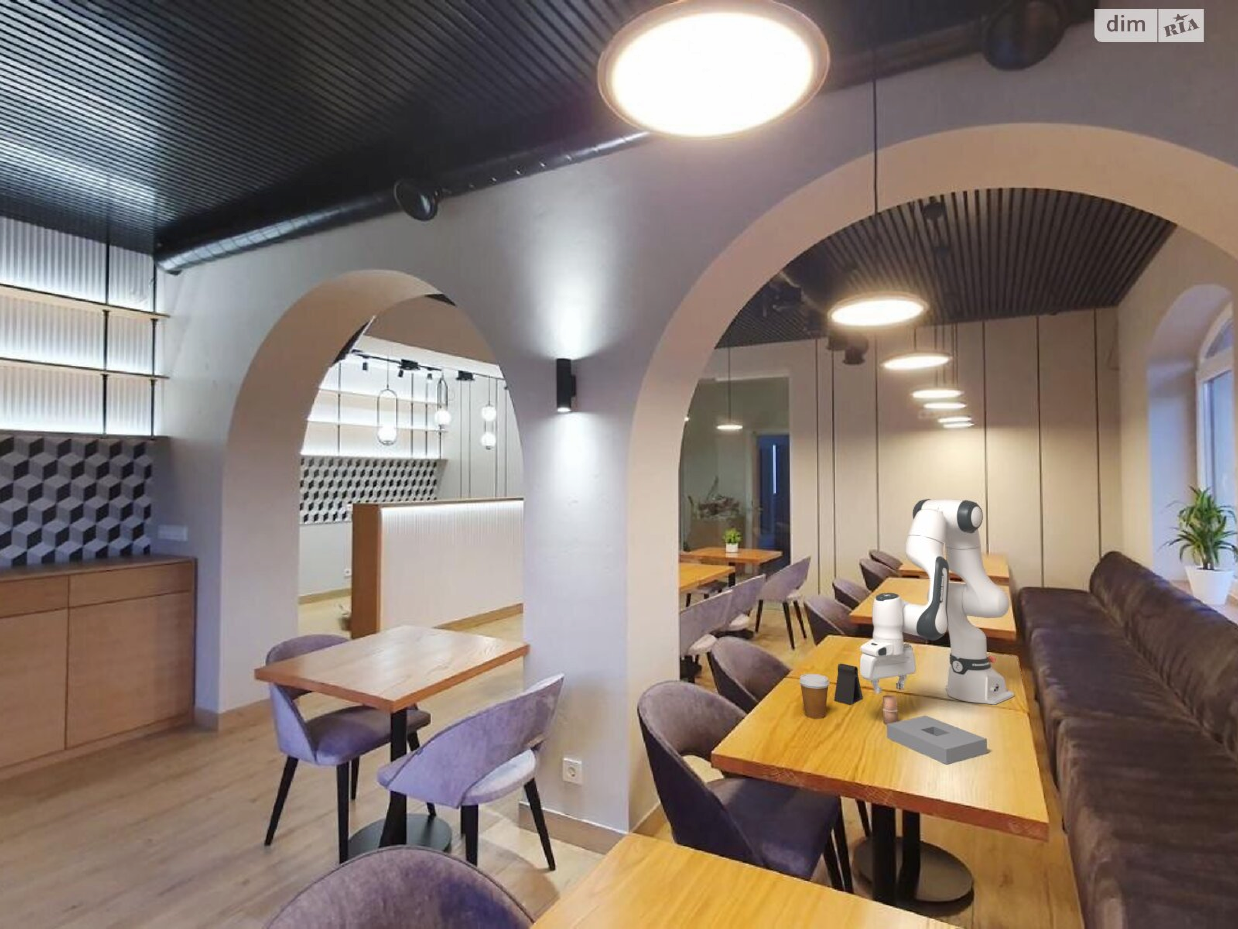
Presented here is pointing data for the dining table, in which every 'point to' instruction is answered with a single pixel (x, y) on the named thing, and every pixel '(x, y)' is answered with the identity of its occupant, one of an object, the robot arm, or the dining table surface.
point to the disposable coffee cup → (814, 694)
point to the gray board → (937, 739)
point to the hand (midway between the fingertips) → (889, 691)
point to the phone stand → (848, 685)
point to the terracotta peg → (889, 709)
